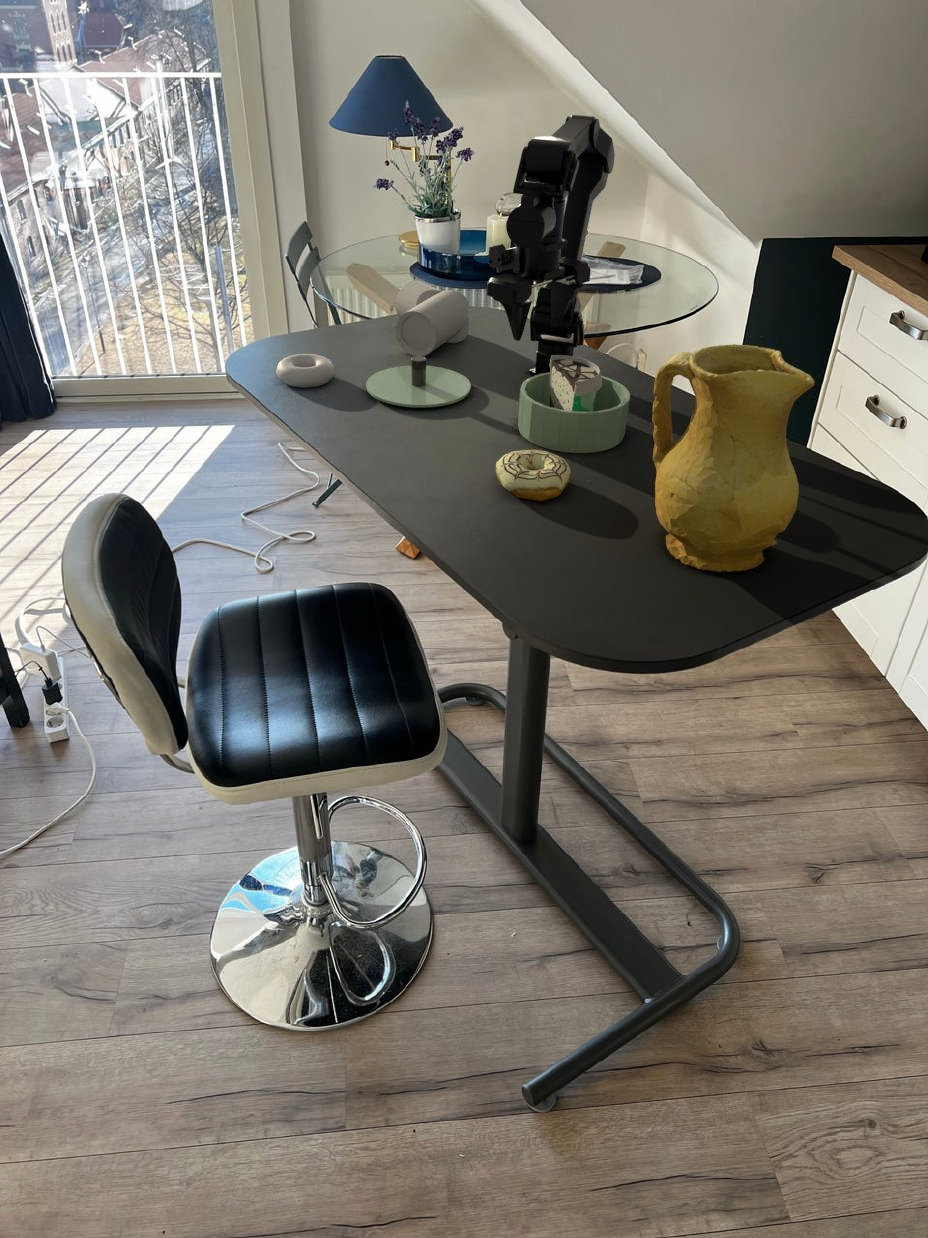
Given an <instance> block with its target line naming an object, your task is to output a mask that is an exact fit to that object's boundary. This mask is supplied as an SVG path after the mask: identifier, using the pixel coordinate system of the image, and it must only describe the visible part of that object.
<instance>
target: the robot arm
mask: <svg viewBox="0 0 928 1238" xmlns="http://www.w3.org/2000/svg"><path fill="white" fill-rule="evenodd" d="M615 156H616V154H615V148H614V140H613V138H612V137H611V136H610V135H609V134H608V133H607V132H606V131H605V130H604V129H603V128H602V127H601V124H600V119H599V118H596V116H591V115H582V114H581V115H578V114H571V115H570V116H569V115H568V116H566V119H565V121H564V123H563V124H562V125H561V126H560V127H559V128H558V129H557V130H556V131H555V132H553V134H552V135H550V136H536V137H531V138H530V139H529V140H528V141H527V144H526V145H525V146H524V147H523V149H522V151H521V155H520V159H519V163H518V168H517V171H516V177H515V181H514V185H513V189H512V193H513V194H516V195H521V197H520V204H519V205H518V206H516V207H515V208H513V209H512V210H511V211H510V213H509V214H508V215H507V216H508V217H507V219H506V222H505V229H506V233H507V236H508V238H509V240H510V241H511V242H512V244H514V245H515V246H514V247H510V248H506V246H505V244H503V243H500V244H497V245H493V246H489V247H488V254H487V255H488V256H487V260H488V265H489V267H490V268H491V269H495V270H496V273H497V275H493V276H492V277H490V278H489V280H487V282H486V296H487V297H490V298H492V299H493V300H494V301H496V302H499V303H500V304H501V306H502V307H503V309H504V311H505V314H506V317H507V321H508V325H509V327H510V331H511V334H512V337H513V340H515V341H517V342H519V341H521V339H522V337H523V334H524V332H525V327H526V323H527V320H528V317H529V314H530V317H529V335H530V336H529V337H530V341H531V342H537V350H536V355H535V367H533V368H530V369H529V371H528V373H530V375H531V374H532V375H533V376H536V375H539V374H543V373H549V372H550V369H551V367H549V365H550V359H551V355H565V356H573V357H574V348H575V349H576V348H577V347H578V346H579V347H580V346H584V342H585V324H584V320H583V319H584V318H583V315H582V311H581V308H582V305H581V301H580V298H579V295H578V294H579V293H580V292H581V290H582V289H584V288H585V283H589V282H590V281H591V272H592V270H591V267H590V265H589V264H588V262H587V261H584V260H582V257H583V252H584V247H585V243H586V237H587V234H588V233H587V232H588V228H589V223H590V218H591V212H592V208H593V204H594V201H595V199H597V197H598V196H599V195H600V194H601V192H602V191H603V190H604V189H605V188H606V186H607V182H608V178H609V175H610V174H612V172H613V170H614V164H615V158H616V157H615ZM507 270H512V273H509V272H504V273H502V272H503V271H507ZM500 273H502V274H500ZM513 273H515V274H513ZM516 274H518V275H519V276H518V275H516ZM520 274H522V276H520ZM540 286H541V287H540ZM537 287H540V288H539V289H538V290H537V296H536V302H535V305H533V306H532V303H533V302H532V300H530V297H532V296H531V295H532V294H533V288H537ZM531 306H532V307H531ZM530 310H531V311H530Z"/></svg>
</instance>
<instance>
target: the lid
mask: <svg viewBox="0 0 928 1238" xmlns="http://www.w3.org/2000/svg"><path fill="white" fill-rule="evenodd" d="M471 385H472V384H471V382H470V380H469V379H468V378H467V377H466V376H464V375H463V374H461V373H459V372H457V371H454V370H452V369H449V368H444V367H441V366H433V365H427V358H426V357H425V356H412V357H410V365H400V366H394V367H388V368H385V369H382V370H380V371H377V372H375V373H374V374H372V375H370V376H369V378H368V379H367V380H366V383H365V388H366V391H367V392H368V394H369V395H370V396H371V397H373V398H374V399H376V400H378V401H380V402H383V403H385V404H389V405H392V406H398V407H404V408H416V409H417V408H418V409H419V408H421V409H422V408H425V409H426V408H437V407H445V406H448V405H451V404H455V403H457V402H459V401H462V400H463V399H465V398H466V397H468V395H469V394H470V392H471V389H472V386H471Z"/></svg>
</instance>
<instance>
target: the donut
mask: <svg viewBox="0 0 928 1238" xmlns="http://www.w3.org/2000/svg"><path fill="white" fill-rule="evenodd" d="M334 374H335V366H334V364H333V362H332V361H331V360H330V359H328V358H327V357H325V356H323V355H319V354H314V353H313V354H312V353H297V354H293V355H292V354H291V355H289V356H286V357H284V358H282V359H281V360H280V361H279V362H278V364H277V365H276V375H277V377H278V379H279V380H280V381H281V382H282V383H284V384H286V385H288V386H291V387H294V388H306V389H307V388H308V389H309V388H315V387H319V386H322V385H325V384H327V383H328V382H329V381H331V380H332V379H333V377H334Z"/></svg>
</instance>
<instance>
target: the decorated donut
mask: <svg viewBox="0 0 928 1238" xmlns="http://www.w3.org/2000/svg"><path fill="white" fill-rule="evenodd" d="M571 472H572V471H571V467H570V465H569V463H568V462H567V461H566V460H565V459H564V458H563V457H561V456H559V455H557V454H555V453H552V452H549V451H547V450H546V451H545V450H541V449H520V450H514V451H510V452H507V453H505V454H504V455H503V456H501V457H500V459H498V460H497V461H496V463H495V473H496V477H497V479H498V482H499V483H500V486H502V487H503V488H504V489H505V490H506V491H508V492H509V493H511V494H512V495H514V497H516V498H521V499H524V500H528V501H530V500H531V501H539V502H544V501H546V500H549V499H554V498H556V497H559V496H560V495H561V494H562V493H563V491H564V490H565V489H566V487H567V486H568V484H569V482H570V479H571V474H572V473H571Z"/></svg>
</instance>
